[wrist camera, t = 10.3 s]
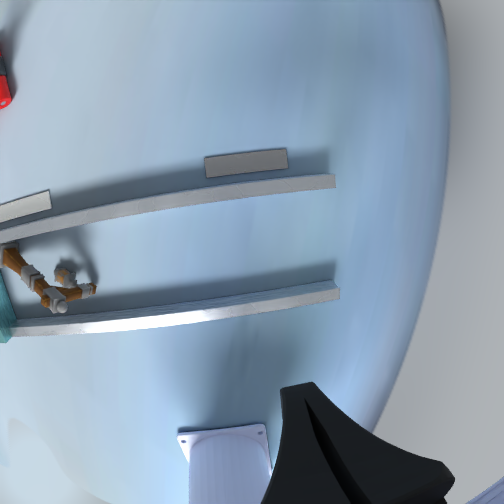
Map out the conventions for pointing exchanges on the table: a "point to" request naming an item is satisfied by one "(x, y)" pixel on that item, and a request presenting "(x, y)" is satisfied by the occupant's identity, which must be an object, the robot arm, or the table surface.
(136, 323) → the guide rail
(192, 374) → the table surface
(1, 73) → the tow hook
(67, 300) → the wooden post with brackets
